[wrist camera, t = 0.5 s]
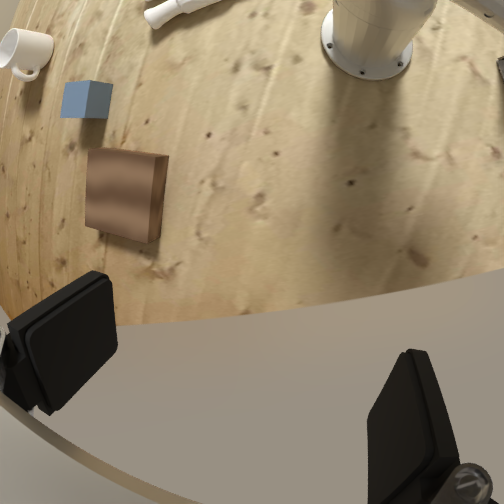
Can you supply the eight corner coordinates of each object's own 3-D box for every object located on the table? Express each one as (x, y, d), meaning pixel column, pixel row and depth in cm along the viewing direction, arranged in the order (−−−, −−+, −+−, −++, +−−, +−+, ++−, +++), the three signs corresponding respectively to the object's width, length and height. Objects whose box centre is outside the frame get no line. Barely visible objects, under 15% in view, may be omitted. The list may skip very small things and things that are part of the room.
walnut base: (103, 147, 46) (88, 148, 42) (168, 155, 44) (155, 157, 40) (99, 220, 51) (85, 226, 47) (160, 236, 49) (147, 244, 45)
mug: (58, 72, 44) (18, 68, 34) (34, 92, 46) (-3, 91, 36) (54, 28, 40) (18, 19, 31) (31, 48, 43) (-4, 44, 33)
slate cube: (88, 85, 43) (65, 82, 38) (113, 84, 42) (90, 80, 37) (83, 117, 45) (60, 117, 40) (107, 118, 44) (84, 117, 39)
